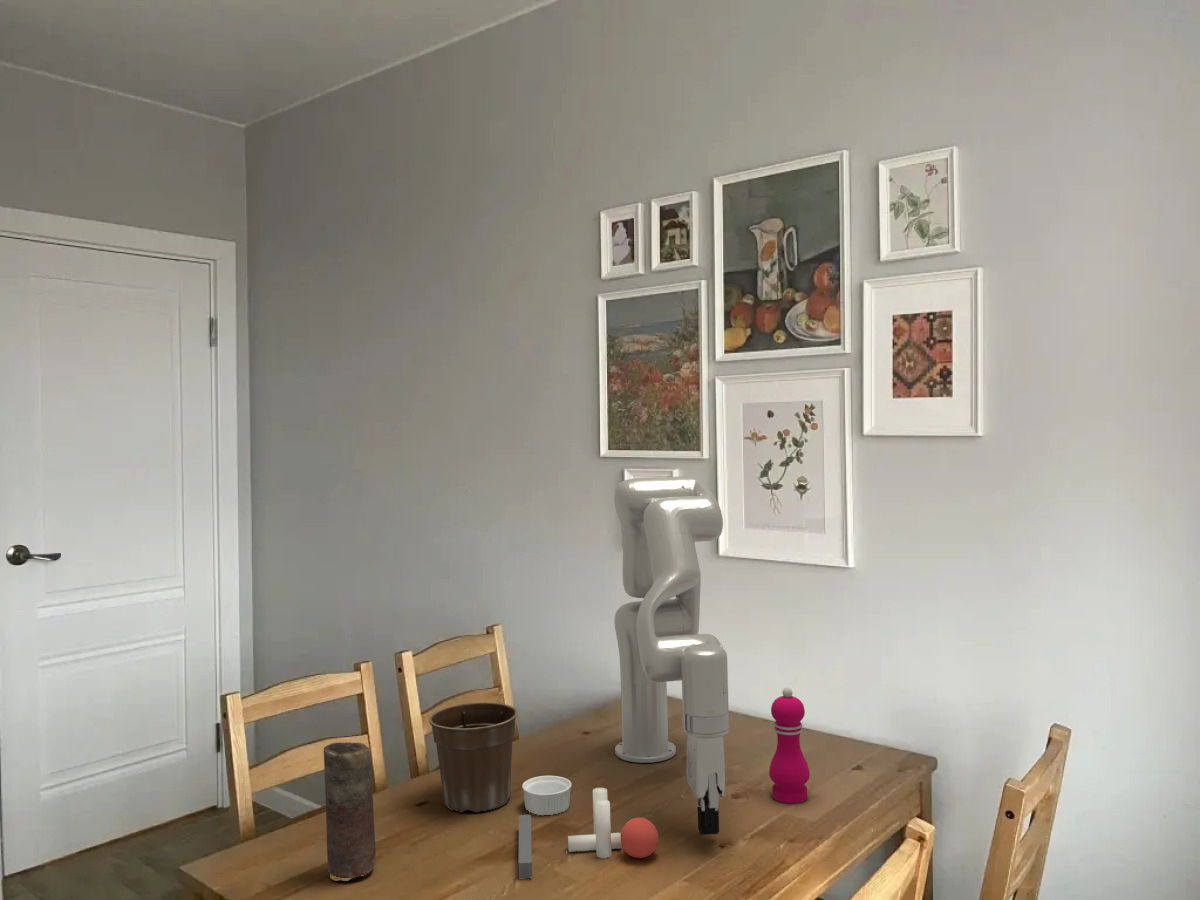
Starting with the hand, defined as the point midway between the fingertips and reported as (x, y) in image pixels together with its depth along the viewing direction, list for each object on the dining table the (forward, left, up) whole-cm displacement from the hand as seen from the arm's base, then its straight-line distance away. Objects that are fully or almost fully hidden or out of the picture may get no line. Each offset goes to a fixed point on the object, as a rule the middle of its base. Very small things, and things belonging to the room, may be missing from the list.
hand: (708, 832), depth 159 cm
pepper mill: (-16, +18, -2) cm, 24 cm away
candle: (+3, -57, -2) cm, 57 cm away
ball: (+4, -12, +2) cm, 13 cm away
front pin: (0, -14, 0) cm, 15 cm away
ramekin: (-18, -26, -2) cm, 32 cm away
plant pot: (-23, -39, -2) cm, 45 cm away
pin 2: (+3, -17, -2) cm, 18 cm away
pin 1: (-2, -17, -2) cm, 18 cm away
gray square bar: (0, -30, -2) cm, 30 cm away
